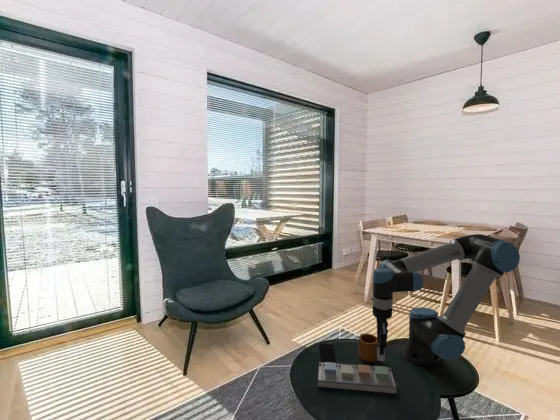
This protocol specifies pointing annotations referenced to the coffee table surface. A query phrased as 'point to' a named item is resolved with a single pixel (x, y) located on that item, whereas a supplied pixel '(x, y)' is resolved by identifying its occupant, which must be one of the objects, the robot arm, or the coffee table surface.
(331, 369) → the key blue
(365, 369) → the key terracotta
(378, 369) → the key sage
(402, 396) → the coffee table surface
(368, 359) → the mug
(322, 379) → the keypad
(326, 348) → the smartphone
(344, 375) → the key cream
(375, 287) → the robot arm
